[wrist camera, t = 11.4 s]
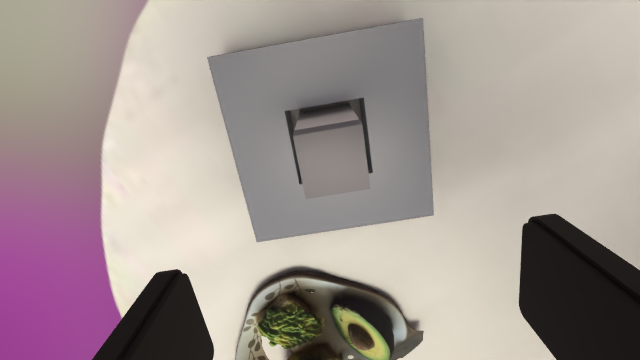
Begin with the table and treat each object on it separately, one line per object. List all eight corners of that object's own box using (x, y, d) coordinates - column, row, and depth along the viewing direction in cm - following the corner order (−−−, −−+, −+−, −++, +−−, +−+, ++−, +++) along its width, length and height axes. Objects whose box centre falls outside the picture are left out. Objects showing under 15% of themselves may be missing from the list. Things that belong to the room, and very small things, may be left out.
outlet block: (405, 23, 26) (422, 18, 21) (417, 192, 30) (433, 215, 26) (224, 56, 26) (207, 57, 22) (264, 216, 31) (256, 242, 27)
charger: (349, 103, 27) (362, 124, 19) (356, 152, 28) (370, 188, 21) (299, 112, 27) (292, 136, 19) (308, 160, 28) (305, 199, 21)
